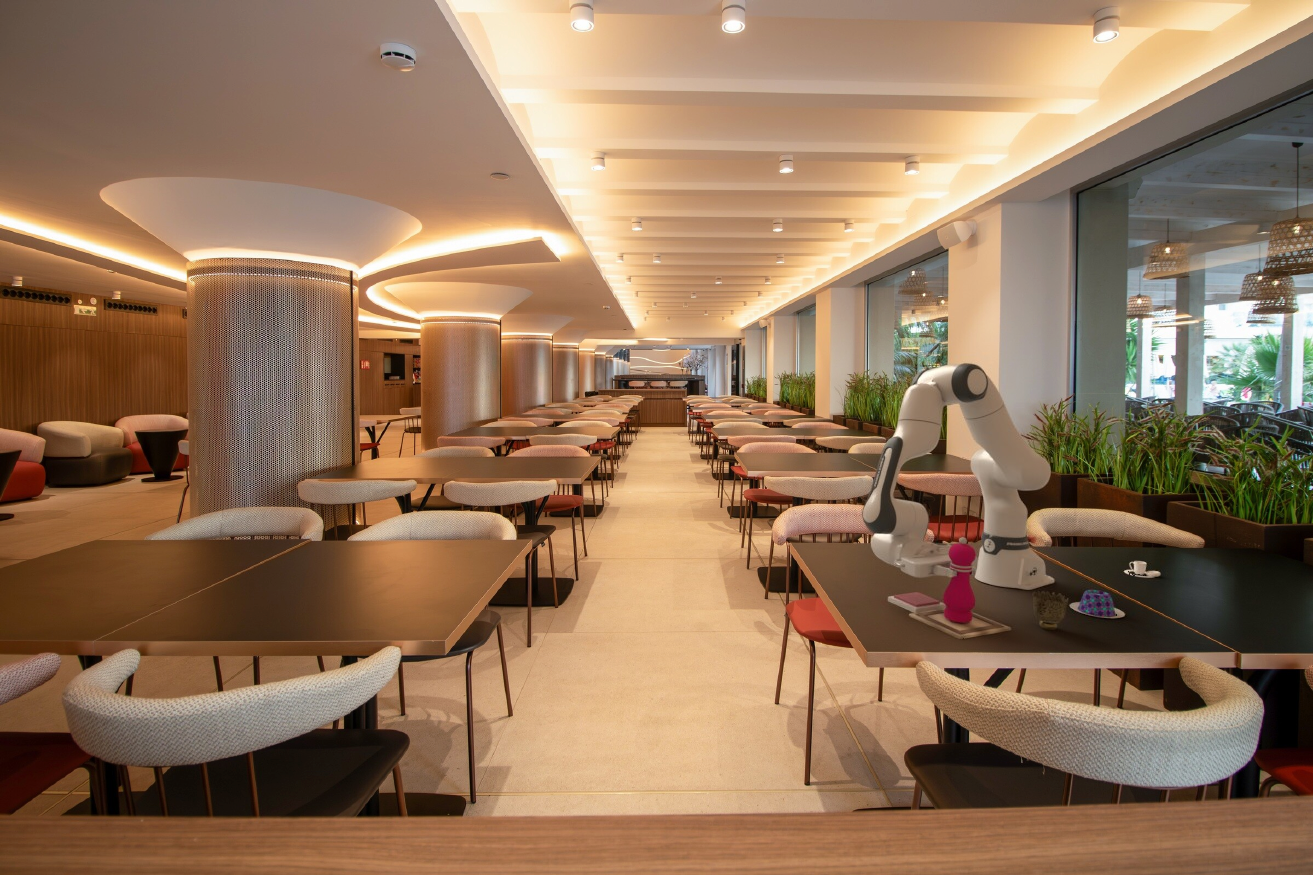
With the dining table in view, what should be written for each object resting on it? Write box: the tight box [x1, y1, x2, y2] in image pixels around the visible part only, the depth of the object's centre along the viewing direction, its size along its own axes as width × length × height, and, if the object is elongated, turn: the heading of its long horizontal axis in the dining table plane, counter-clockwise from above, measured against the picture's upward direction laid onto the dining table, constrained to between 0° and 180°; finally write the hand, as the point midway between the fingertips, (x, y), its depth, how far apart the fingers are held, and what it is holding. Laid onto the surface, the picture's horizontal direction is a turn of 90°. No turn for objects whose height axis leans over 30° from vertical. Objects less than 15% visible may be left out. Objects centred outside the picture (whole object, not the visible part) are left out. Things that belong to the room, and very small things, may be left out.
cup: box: [1031, 590, 1069, 631], centre depth 164 cm, size 8×7×8 cm
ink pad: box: [887, 591, 947, 613], centre depth 179 cm, size 10×10×2 cm
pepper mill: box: [942, 536, 977, 622], centre depth 166 cm, size 7×7×20 cm
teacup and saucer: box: [1123, 560, 1161, 578], centre depth 212 cm, size 9×8×4 cm
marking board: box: [908, 608, 1012, 640], centre depth 167 cm, size 16×16×1 cm
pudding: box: [1069, 589, 1126, 619], centre depth 177 cm, size 12×12×5 cm
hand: (964, 572), depth 165 cm, fingers closed on pepper mill, 5 cm apart
